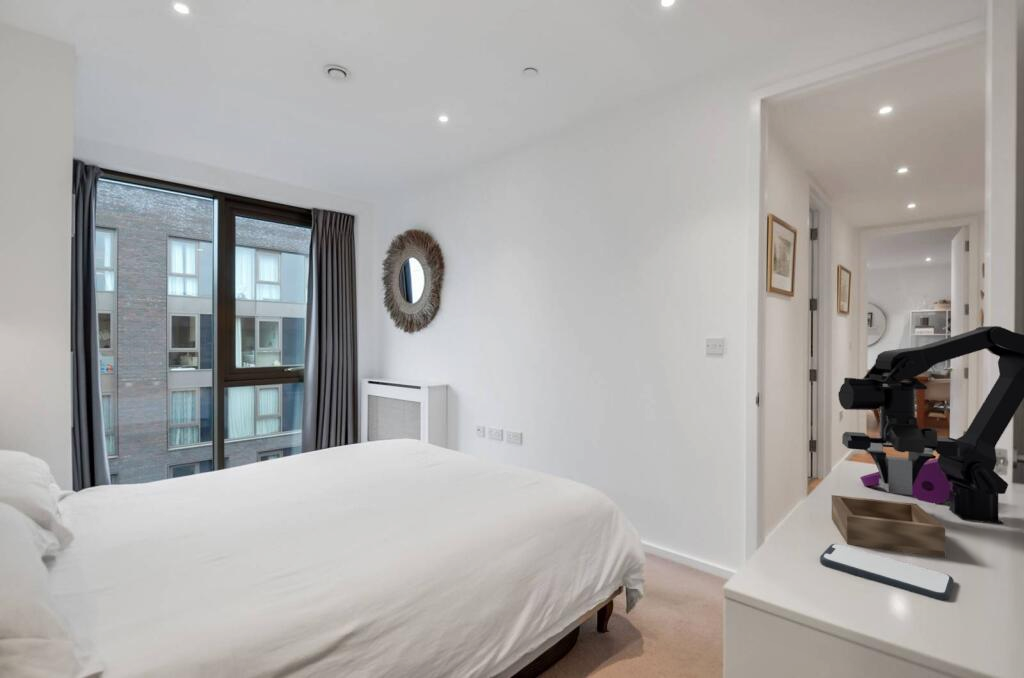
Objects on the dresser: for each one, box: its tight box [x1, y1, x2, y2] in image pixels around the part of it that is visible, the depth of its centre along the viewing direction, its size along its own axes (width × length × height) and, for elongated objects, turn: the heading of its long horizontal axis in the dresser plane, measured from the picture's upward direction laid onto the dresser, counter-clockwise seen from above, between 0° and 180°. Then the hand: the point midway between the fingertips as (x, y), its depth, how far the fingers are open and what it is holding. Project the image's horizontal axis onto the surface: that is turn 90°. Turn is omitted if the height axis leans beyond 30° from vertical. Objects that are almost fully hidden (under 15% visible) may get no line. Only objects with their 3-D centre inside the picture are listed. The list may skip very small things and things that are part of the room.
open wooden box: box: [831, 494, 946, 558], centre depth 91 cm, size 14×13×5 cm
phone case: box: [819, 543, 954, 602], centre depth 77 cm, size 9×2×16 cm
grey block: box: [878, 455, 913, 496], centre depth 104 cm, size 4×6×7 cm, turn 157°
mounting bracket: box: [859, 458, 956, 505], centre depth 117 cm, size 9×8×18 cm
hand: (897, 484), depth 102 cm, fingers closed on grey block, 4 cm apart
